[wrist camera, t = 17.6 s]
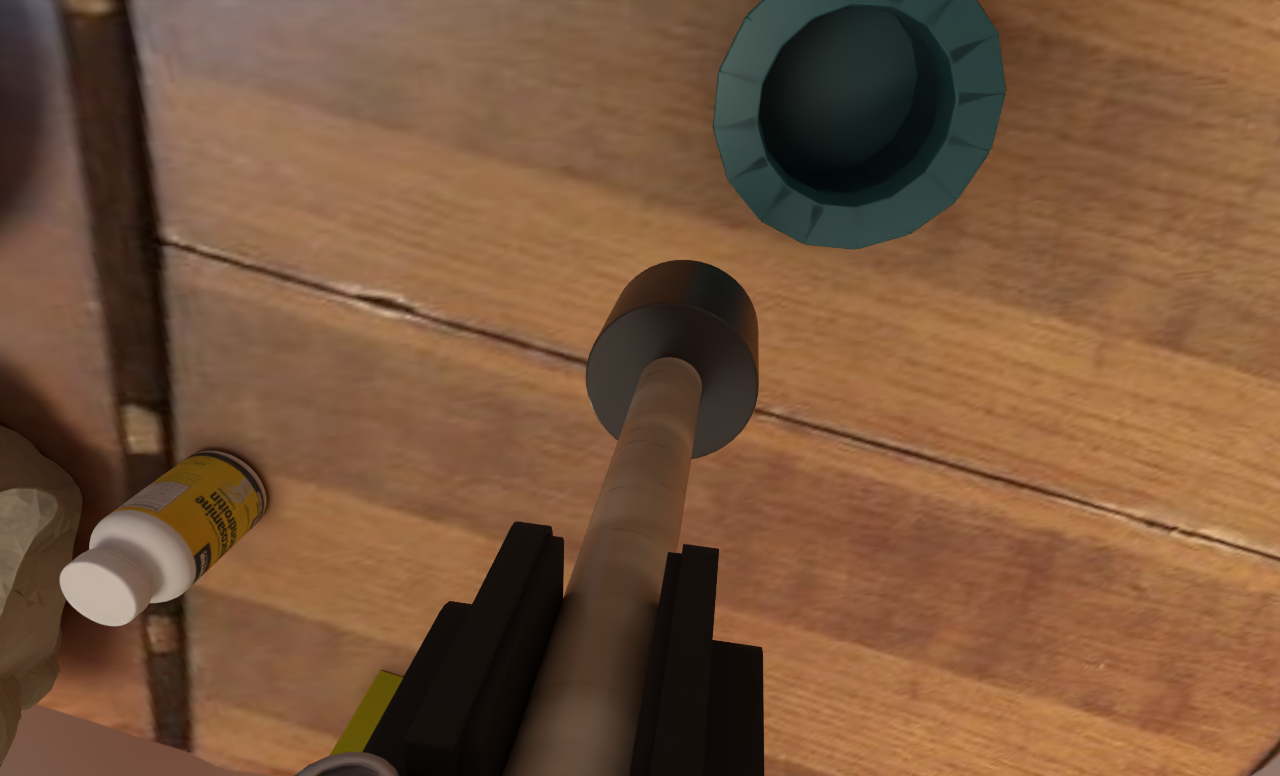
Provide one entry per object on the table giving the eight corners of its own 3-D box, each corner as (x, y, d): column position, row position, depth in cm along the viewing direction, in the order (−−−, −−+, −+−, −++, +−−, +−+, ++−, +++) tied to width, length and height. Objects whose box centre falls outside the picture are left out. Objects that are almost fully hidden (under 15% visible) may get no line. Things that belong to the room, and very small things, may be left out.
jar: (946, -17, 34) (1041, -42, 22) (903, 189, 38) (963, 260, 26) (742, -29, 35) (730, -58, 23) (721, 173, 39) (702, 235, 27)
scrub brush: (767, 267, 21) (802, 969, 5) (748, 404, 23) (731, 1236, 7) (615, 252, 22) (209, 856, 6) (609, 388, 24) (291, 1136, 7)
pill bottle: (266, 535, 55) (149, 654, 44) (183, 505, 54) (46, 616, 44) (275, 465, 52) (151, 574, 41) (186, 432, 52) (41, 534, 41)
